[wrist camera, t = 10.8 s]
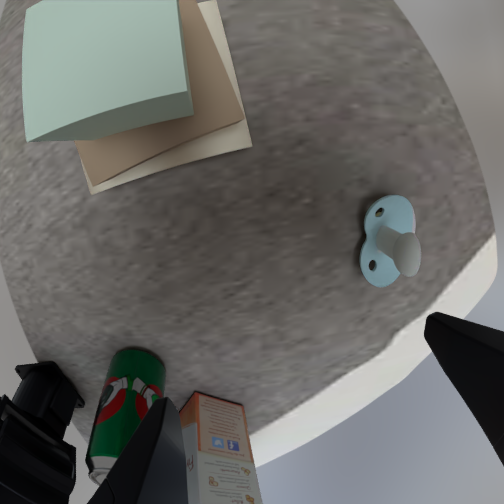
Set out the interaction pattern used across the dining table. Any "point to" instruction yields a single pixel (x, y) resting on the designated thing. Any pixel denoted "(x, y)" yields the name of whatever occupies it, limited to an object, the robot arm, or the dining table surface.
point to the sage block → (102, 67)
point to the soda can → (122, 407)
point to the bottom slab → (205, 145)
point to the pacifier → (390, 241)
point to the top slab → (176, 130)
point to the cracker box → (218, 453)
